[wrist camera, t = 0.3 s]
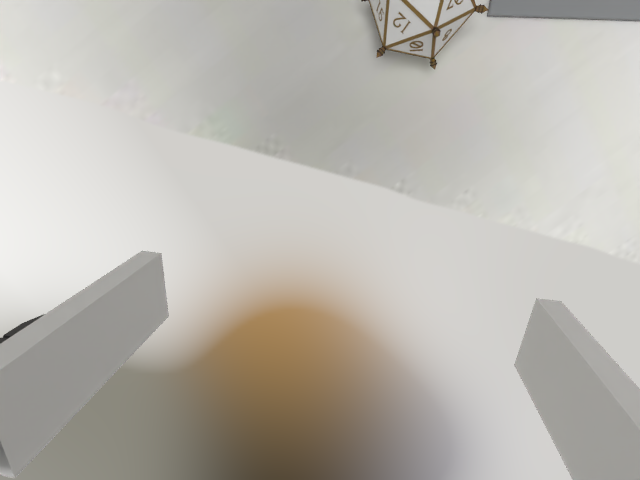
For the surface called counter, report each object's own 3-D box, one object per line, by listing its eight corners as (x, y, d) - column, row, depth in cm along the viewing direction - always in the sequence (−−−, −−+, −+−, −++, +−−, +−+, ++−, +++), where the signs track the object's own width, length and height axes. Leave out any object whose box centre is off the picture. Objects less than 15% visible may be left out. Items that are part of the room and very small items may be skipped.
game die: (418, -2, 34) (496, -116, 24) (445, 83, 34) (535, 0, 24) (332, 4, 31) (380, -120, 22) (359, 96, 31) (421, 9, 21)
